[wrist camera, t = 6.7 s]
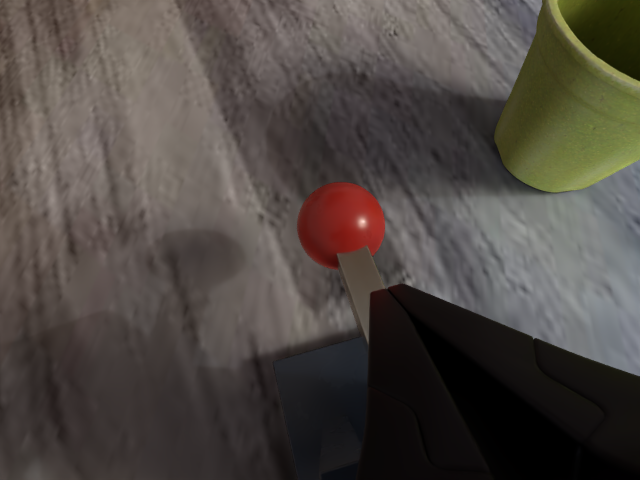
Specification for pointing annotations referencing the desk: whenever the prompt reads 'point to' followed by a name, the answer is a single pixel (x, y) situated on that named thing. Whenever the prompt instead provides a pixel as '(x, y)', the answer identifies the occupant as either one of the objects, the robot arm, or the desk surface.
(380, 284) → the red-knobbed lever handle
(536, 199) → the desk surface
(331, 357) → the dark grey lever stand
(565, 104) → the plant pot
